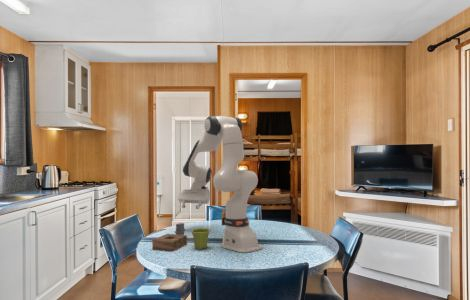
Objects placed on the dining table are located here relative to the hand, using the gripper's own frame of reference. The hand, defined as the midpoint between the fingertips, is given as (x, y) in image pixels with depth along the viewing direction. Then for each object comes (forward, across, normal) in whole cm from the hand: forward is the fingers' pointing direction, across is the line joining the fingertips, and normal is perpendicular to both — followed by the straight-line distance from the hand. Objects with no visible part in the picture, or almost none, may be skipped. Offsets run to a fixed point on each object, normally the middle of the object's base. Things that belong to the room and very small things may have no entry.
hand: (190, 207), depth 198 cm
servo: (+20, 0, +2) cm, 20 cm away
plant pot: (+30, +20, -9) cm, 37 cm away
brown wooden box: (+32, +4, -11) cm, 34 cm away
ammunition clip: (-10, +14, +32) cm, 37 cm away
